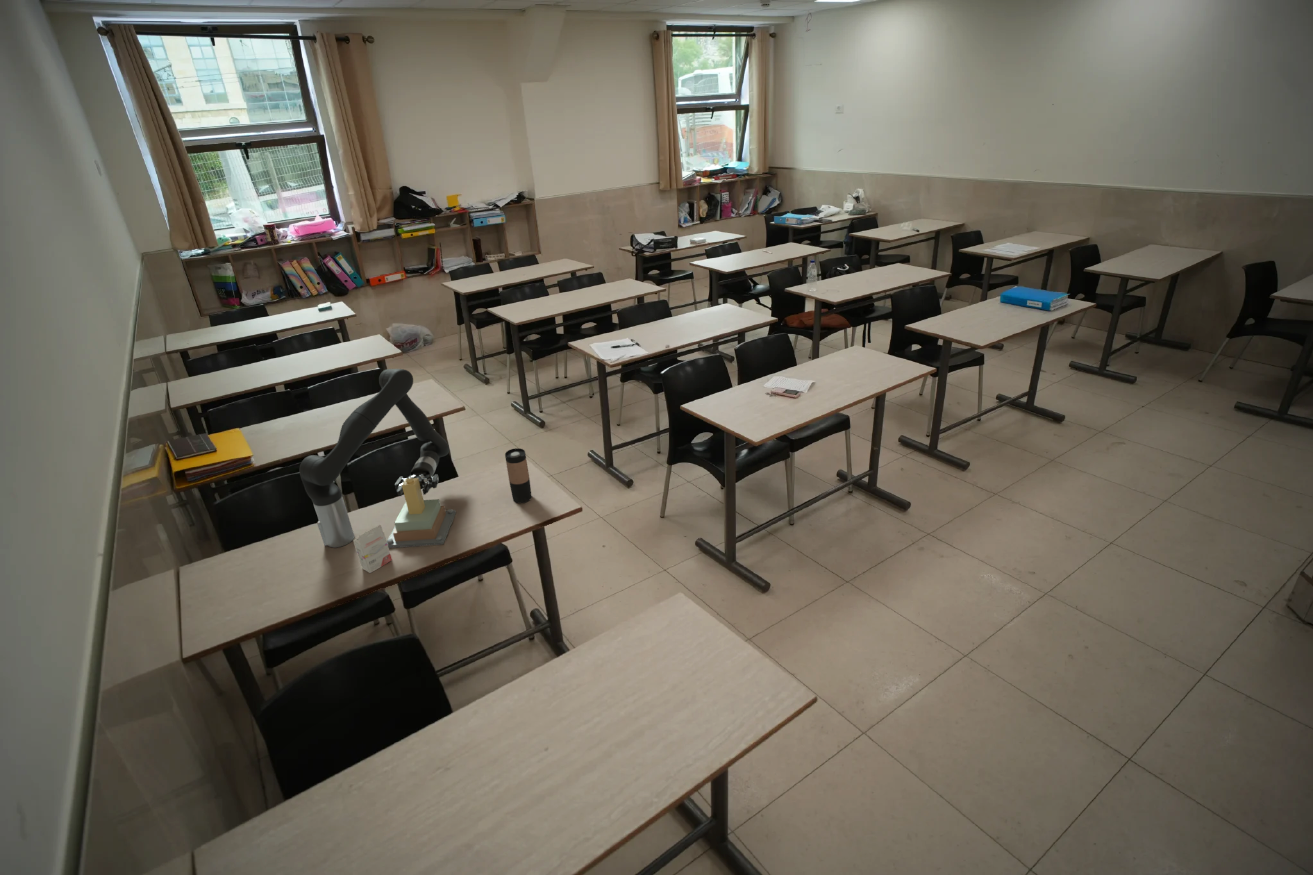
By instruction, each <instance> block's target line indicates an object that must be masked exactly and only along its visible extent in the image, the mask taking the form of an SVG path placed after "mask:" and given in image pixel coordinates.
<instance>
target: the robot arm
mask: <svg viewBox="0 0 1313 875" xmlns="http://www.w3.org/2000/svg"><path fill="white" fill-rule="evenodd" d="M378 383H379V386H380V388H381V389H380V390H379V392H378V393H376V395H374V396H373V397H370V399H368V400H367V401H364V403H362V404H360V405H359V406H357V407H356V408H355V409H354V410H353V411H352V412H351V414H350V415H349V416H348V417H347V418H346V419H345V420H344V421H343V423H342V425H341V427H340V432H339V437H338V440H337V443H336V445H335V446H333V448H332V450H330V452H329V453H328V454H327V455H326V456H325V457H323V456H320V455H316V454H315V455H314V454H312V455H311V454H310V455H308V456H306V457H304V459H303V460H302V461H301V462H300V465H299V475H300V476H299V477H300V479H301V481H302V485H303V487H304V490H305V493H306V495H307V496H308V497H309V498H310V499H311V502H312V503H313V507H314V510H315V513H316V515H317V519H318V521H317V523H316V524H317V527H318V530H319V533H320V537H321V540H322V543H323V546H325V547H326V546H328V547H329V548H340V547H344V546H346V545H348V544H350V543H351V542H353V540H354V539H355V533H354V529H353V526H352V523H351V520H350V517H349V514H348V510H347V507H346V503H345V501H344V497H343V494H342V492H341V488H340V487H339V486H338V485H337V484H336V483H334V482H335V481H336V480H337V479H338V478H339V475H340V474H341V473H342V471H343V469H344V468H345V467H346V465H347V464H348V463H349V461H350V460H351V459H352V457H353V456H354V454H355V453H356V452H357V450H358V449H360V447H361V445H363V443H364V442H365V441H366V440H367V439H368V437H369V436H370V435H371V434H372V433H373V432H374V431H375V429H376V428H377V426H378V425H379V424H380V423H381V422H382V421H383V419H384V418H385V417H386V416H387V414H388V413H389V412H390V411H391V409H392V408H393V407H396V408H397V409H398V410H399V412H400V413H401V414H402V416H403V417H404V419H405V420H406V422H407V423H408V424H409V426H410V428H411V431H412V432H413V433H414V435H415V437H416V438H417V439H418V440H419V441H421V442H423V441H428V442H425V443H423V444H422V445H421V447H420V448H419V449H420V450H419V451H420V457H419V458H418V460H416V462H415V463H414V466H413V467H412V469H411V471H410V473H409V476H407V477H406V478H404V476H399V478H398V479H397V480H396V482H395V483H394V487H395V491H396V494H397V496H399V497H402V496H403V495H404V492H403V488H402V484H403V482H404V481H405V479H408V478H418V479H419V483H420V487H422V489H421V492H422V496H424V495H427V494H428V493H429V491H430V490H431V489H432V488H433V489H436V488H437V487H438V484H439V482H440V480H439V475H438V473H435V472H436V469H437V467H438V465H439V462H440V458H442V457H445V456H447V455H448V454H449V452H450V446H449V443H448V442H447V440H446V439H445V438H443V437H442V435H441V434H440V433H439V432H437V430H436V429H435V428H434V426H433V425H432V423H431V422H430V420H429V418H428V417H427V415H426V413H425V412H423V410H422V409H421V408H420V407H419V406H418V405H417V404H416V403H415V402H414V401H413V400H412V399H411V398H410V396H409V395H408V393H409V392H410V390H411V389H412V387H413V384H414V377H413V375H412V373H411V371H409V370H407V369H404V368H388V369H387V368H386V369H383V371H381V373H380V375H379V377H378Z"/></svg>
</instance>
